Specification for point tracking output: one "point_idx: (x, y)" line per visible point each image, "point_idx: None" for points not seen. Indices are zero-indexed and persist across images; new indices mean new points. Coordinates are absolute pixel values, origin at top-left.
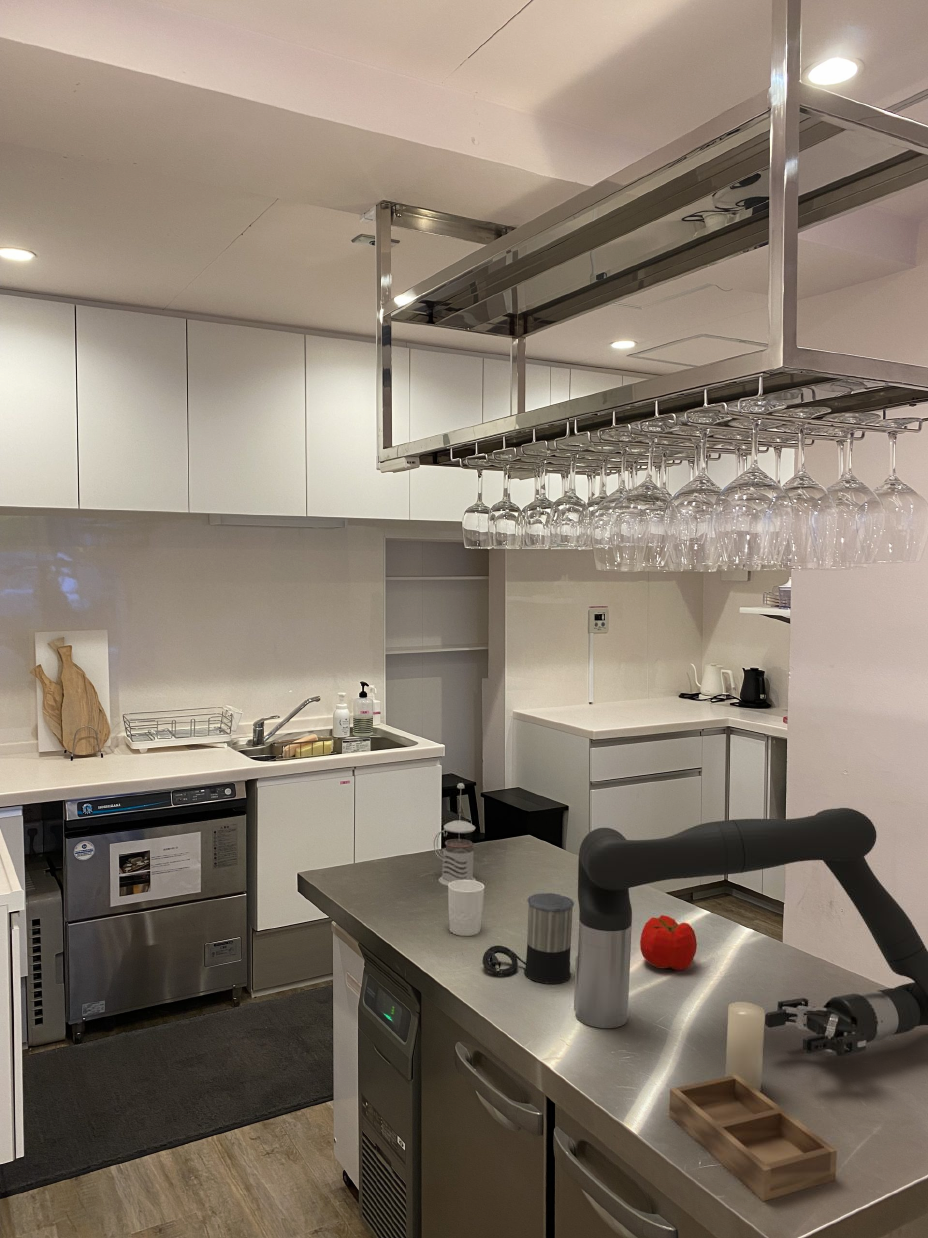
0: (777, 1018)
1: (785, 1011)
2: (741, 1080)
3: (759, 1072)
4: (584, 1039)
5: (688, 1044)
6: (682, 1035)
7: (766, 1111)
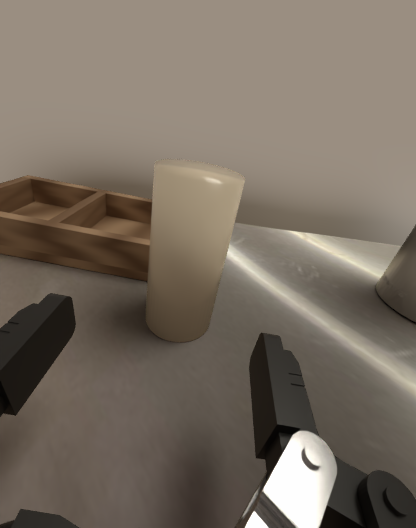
0: (261, 383)
1: (279, 420)
2: (140, 240)
3: (147, 287)
4: (344, 265)
5: (333, 344)
6: (371, 360)
7: (68, 216)
